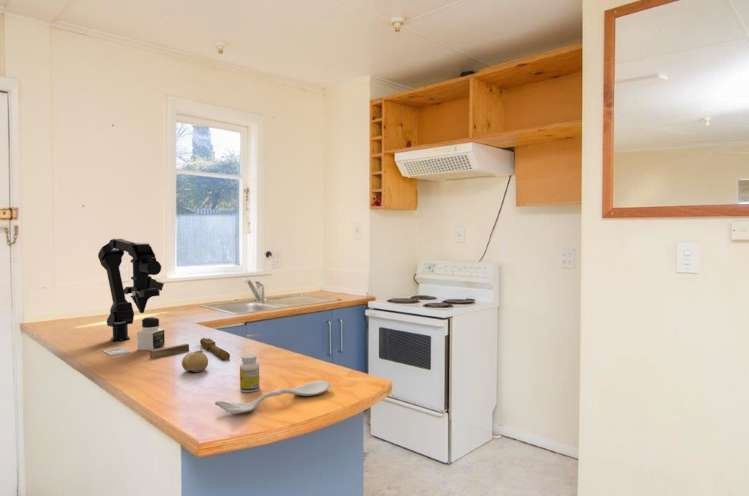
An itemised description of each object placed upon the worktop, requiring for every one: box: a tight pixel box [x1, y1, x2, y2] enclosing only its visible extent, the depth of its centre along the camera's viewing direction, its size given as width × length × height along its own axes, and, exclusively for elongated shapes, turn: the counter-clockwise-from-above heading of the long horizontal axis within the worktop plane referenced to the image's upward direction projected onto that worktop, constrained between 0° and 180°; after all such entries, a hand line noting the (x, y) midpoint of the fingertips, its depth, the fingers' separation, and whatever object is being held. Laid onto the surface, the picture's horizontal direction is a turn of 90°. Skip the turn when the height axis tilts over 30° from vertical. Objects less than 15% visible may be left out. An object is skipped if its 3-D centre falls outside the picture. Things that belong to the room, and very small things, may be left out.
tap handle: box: [199, 337, 231, 361], centre depth 188 cm, size 3×3×30 cm
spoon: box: [214, 380, 332, 415], centre depth 132 cm, size 9×32×4 cm, turn 132°
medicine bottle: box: [136, 316, 166, 352], centre depth 193 cm, size 7×7×12 cm
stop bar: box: [149, 343, 190, 359], centre depth 184 cm, size 2×14×2 cm, turn 141°
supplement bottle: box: [239, 354, 261, 394], centre depth 142 cm, size 5×5×10 cm
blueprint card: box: [102, 347, 131, 356], centre depth 188 cm, size 10×7×1 cm
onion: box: [181, 348, 209, 374], centre depth 162 cm, size 8×8×7 cm
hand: (141, 312), depth 199 cm, fingers closed
